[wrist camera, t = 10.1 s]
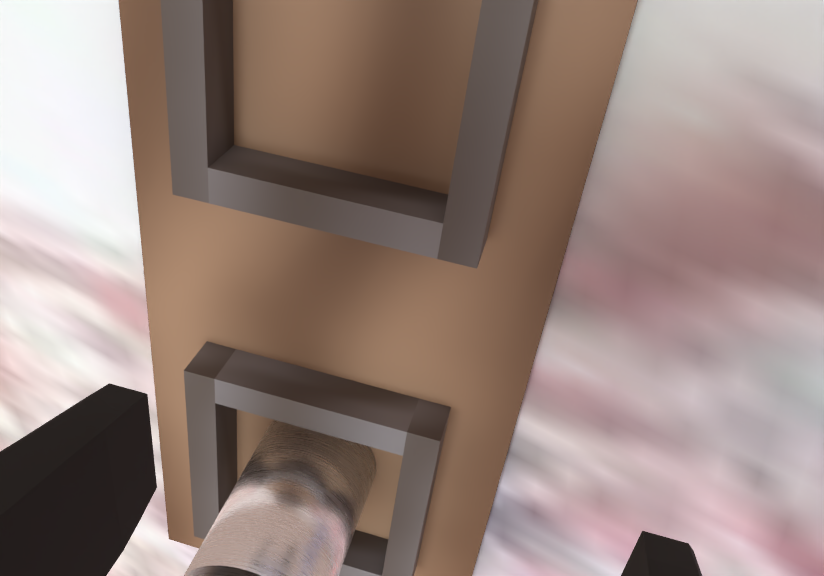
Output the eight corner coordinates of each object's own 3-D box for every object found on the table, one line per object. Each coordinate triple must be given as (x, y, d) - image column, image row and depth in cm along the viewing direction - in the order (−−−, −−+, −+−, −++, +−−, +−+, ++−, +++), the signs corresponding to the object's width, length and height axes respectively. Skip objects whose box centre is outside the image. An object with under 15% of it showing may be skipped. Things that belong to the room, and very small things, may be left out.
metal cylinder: (383, 430, 24) (299, 647, 18) (370, 510, 26) (292, 726, 20) (265, 397, 24) (145, 598, 18) (262, 478, 27) (155, 680, 21)
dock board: (716, -278, 13) (726, -288, 12) (459, 616, 29) (448, 664, 28) (99, -364, 15) (33, -384, 13) (175, 529, 31) (149, 570, 29)
